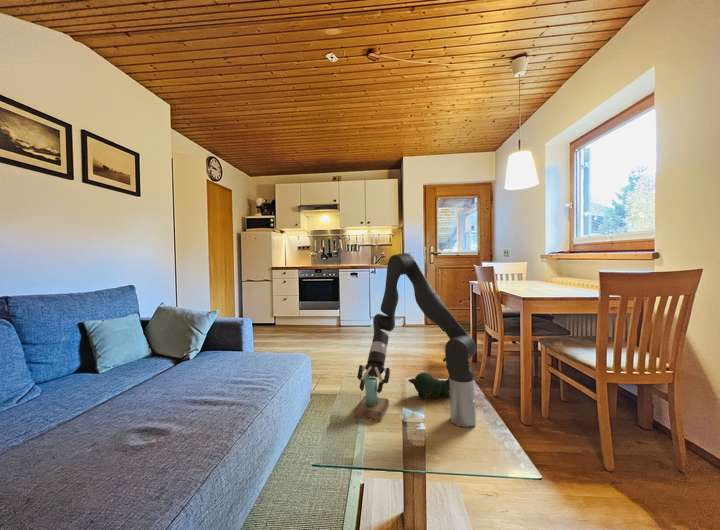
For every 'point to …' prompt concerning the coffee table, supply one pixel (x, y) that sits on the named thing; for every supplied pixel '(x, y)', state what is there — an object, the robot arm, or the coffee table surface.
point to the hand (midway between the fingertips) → (370, 391)
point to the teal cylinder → (371, 391)
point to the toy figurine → (430, 385)
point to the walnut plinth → (372, 409)
